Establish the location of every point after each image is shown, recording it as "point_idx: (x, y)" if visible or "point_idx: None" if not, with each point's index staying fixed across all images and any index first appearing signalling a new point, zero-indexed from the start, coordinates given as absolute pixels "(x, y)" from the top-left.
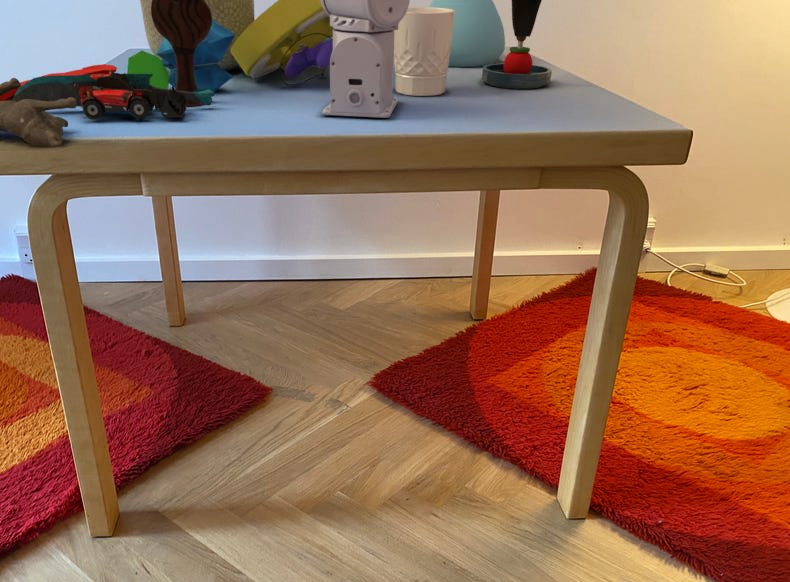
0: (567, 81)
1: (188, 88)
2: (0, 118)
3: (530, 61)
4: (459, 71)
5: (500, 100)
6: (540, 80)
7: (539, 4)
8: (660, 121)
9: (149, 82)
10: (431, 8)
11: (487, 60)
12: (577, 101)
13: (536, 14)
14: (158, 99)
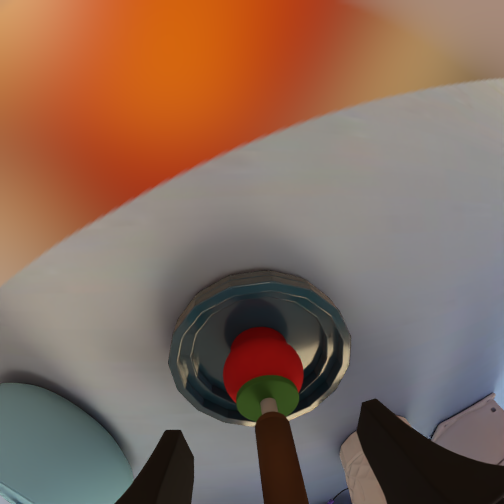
0: (171, 223)
1: None
2: None
3: (282, 352)
4: (157, 439)
5: (432, 333)
6: (323, 295)
7: (447, 449)
8: (498, 87)
9: None
10: None
11: (74, 409)
12: (428, 195)
13: (419, 433)
14: None
